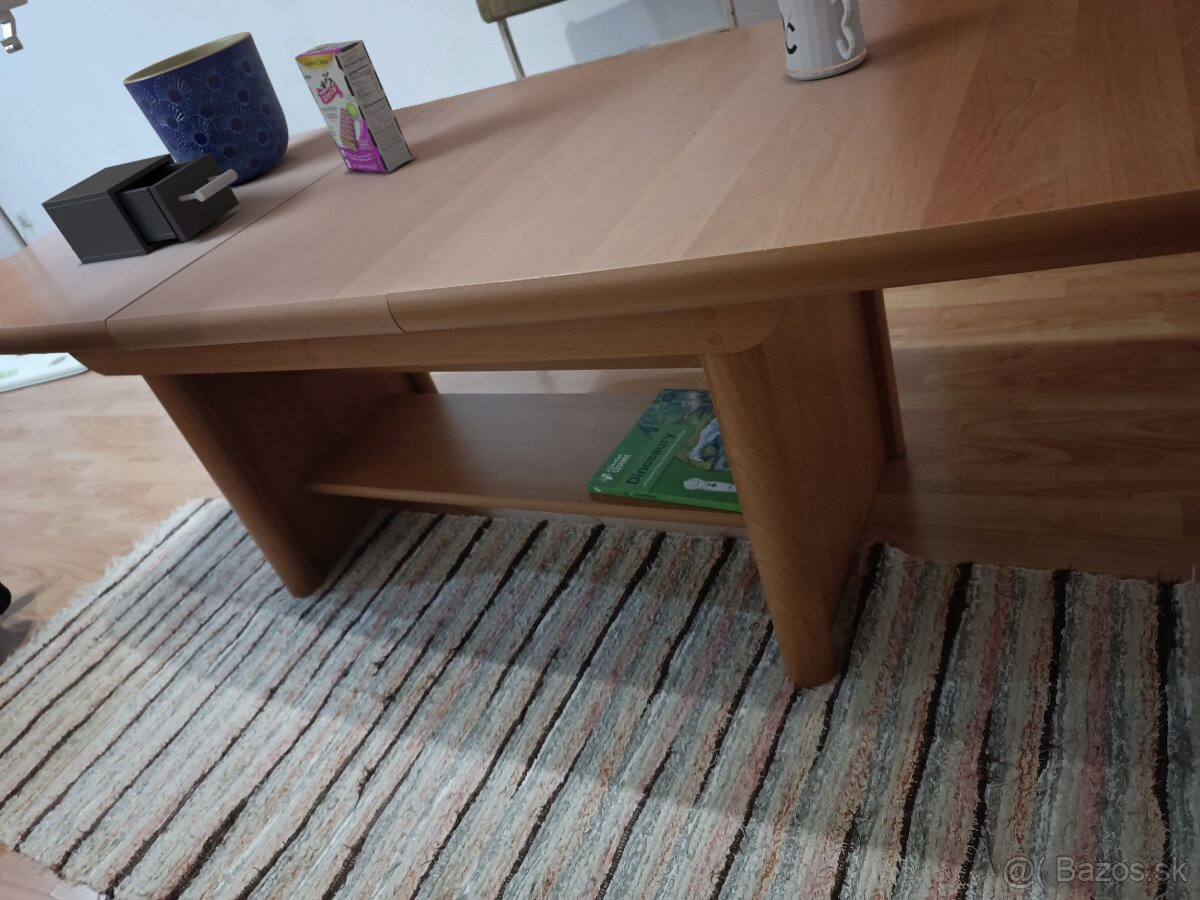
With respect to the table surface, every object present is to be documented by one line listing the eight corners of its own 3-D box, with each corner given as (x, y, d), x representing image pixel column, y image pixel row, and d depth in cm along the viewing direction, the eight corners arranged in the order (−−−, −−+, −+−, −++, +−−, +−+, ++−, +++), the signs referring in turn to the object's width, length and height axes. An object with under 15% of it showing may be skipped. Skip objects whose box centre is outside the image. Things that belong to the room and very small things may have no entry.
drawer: (264, 199, 125) (235, 146, 120) (212, 236, 117) (179, 181, 112) (177, 214, 133) (147, 165, 128) (123, 250, 125) (89, 199, 120)
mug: (775, 74, 104) (760, -16, 98) (845, 48, 104) (834, -43, 99) (820, 94, 94) (806, -5, 88) (897, 64, 94) (889, -36, 89)
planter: (302, 168, 137) (239, 43, 126) (179, 213, 137) (106, 92, 126) (312, 137, 154) (257, 24, 143) (202, 177, 154) (139, 67, 143)
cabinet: (205, 214, 131) (170, 153, 126) (147, 254, 123) (106, 190, 117) (142, 225, 138) (105, 167, 132) (82, 263, 129) (40, 203, 124)
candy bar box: (346, 173, 126) (291, 57, 117) (373, 158, 129) (321, 43, 119) (387, 175, 119) (332, 51, 110) (415, 159, 121) (363, 37, 112)
